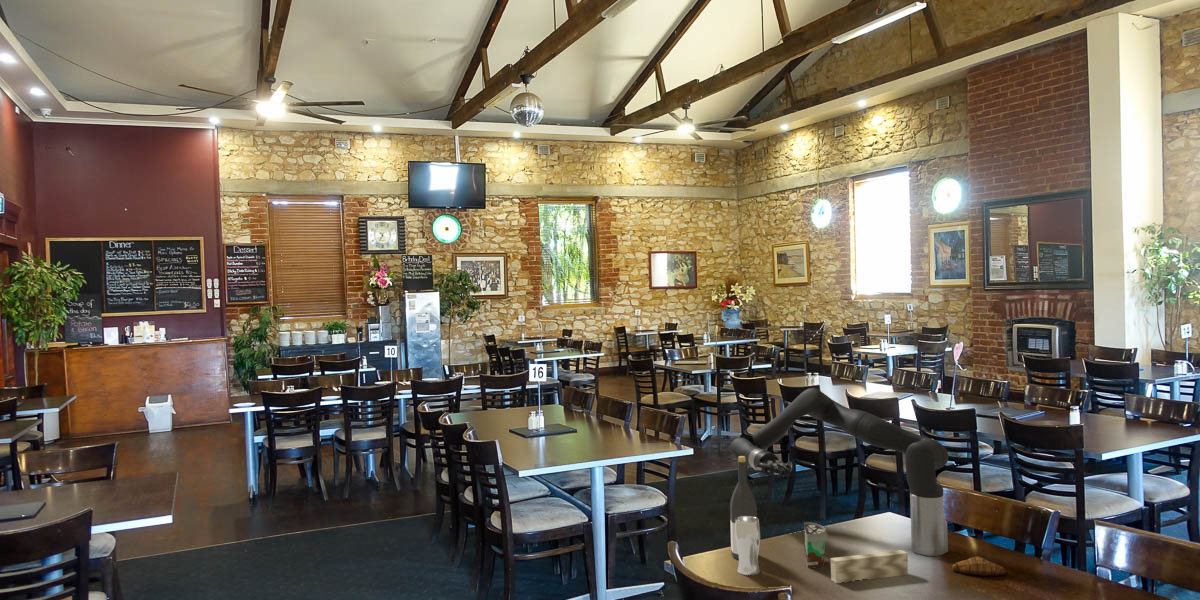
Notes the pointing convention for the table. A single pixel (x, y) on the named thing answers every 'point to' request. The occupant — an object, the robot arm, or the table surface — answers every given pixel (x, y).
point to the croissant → (978, 567)
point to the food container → (814, 544)
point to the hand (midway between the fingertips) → (786, 473)
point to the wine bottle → (741, 503)
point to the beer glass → (747, 544)
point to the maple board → (869, 566)
